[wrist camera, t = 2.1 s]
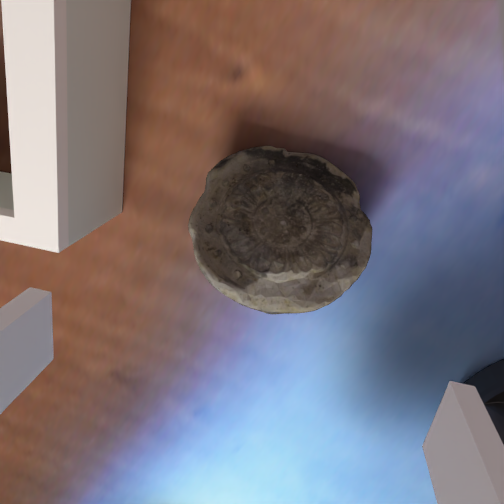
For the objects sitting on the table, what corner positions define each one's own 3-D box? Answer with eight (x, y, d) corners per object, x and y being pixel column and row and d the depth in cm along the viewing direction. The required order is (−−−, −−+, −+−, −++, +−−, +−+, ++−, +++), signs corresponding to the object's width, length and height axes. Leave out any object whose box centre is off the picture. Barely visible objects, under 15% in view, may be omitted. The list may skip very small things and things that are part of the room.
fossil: (363, 127, 26) (389, 254, 19) (360, 232, 33) (378, 352, 26) (188, 146, 28) (157, 268, 21) (219, 242, 34) (203, 357, 28)
